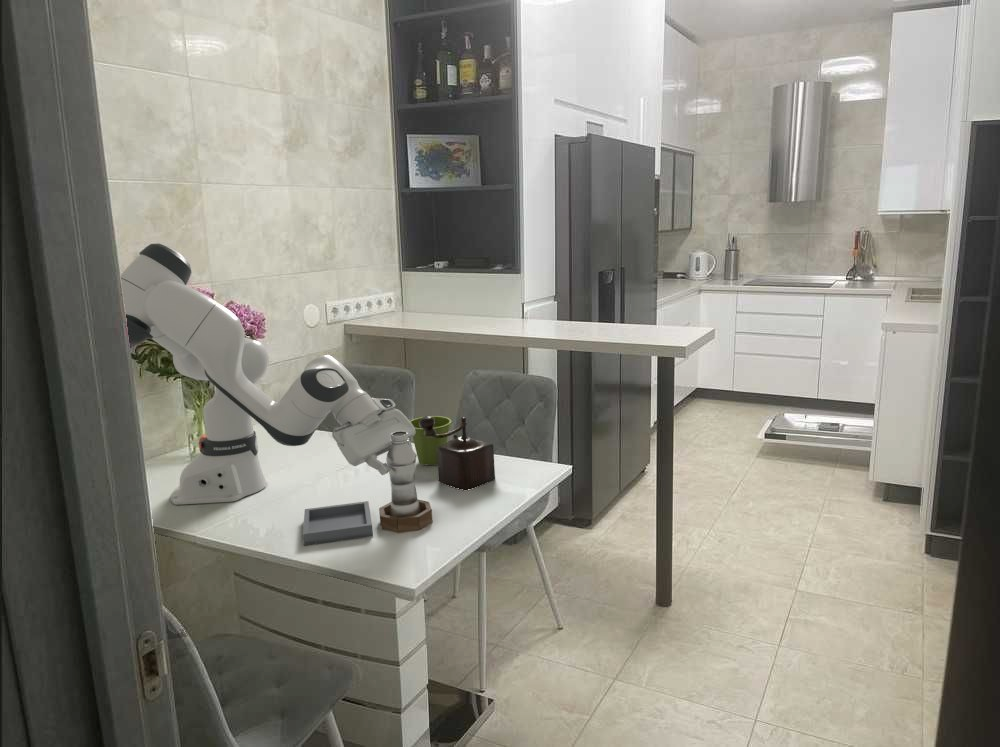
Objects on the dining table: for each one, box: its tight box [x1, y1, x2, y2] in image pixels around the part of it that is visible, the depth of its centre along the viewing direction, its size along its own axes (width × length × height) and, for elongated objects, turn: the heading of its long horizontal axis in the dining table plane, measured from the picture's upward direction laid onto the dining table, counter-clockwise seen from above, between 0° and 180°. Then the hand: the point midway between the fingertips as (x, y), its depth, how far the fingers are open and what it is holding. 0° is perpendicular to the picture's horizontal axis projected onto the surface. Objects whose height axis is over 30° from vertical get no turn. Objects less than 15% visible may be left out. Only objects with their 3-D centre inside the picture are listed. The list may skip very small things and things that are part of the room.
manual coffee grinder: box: [419, 415, 496, 491], centre depth 182 cm, size 16×11×18 cm
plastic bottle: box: [385, 431, 420, 518], centre depth 160 cm, size 6×7×20 cm
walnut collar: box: [378, 499, 434, 534], centre depth 162 cm, size 11×11×3 cm
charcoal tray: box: [302, 500, 374, 547], centre depth 160 cm, size 14×14×3 cm
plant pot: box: [409, 415, 452, 466], centre depth 200 cm, size 12×12×11 cm
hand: (400, 465), depth 159 cm, fingers open, 8 cm apart
